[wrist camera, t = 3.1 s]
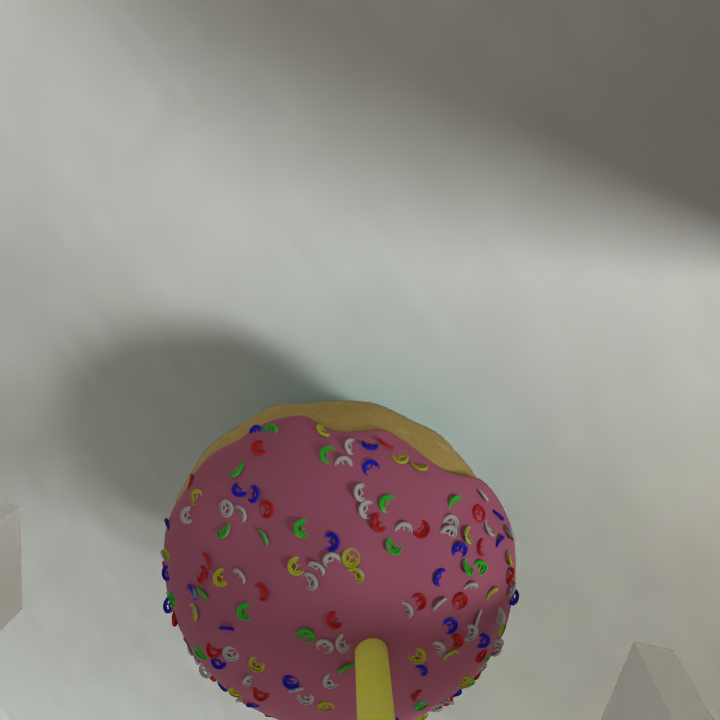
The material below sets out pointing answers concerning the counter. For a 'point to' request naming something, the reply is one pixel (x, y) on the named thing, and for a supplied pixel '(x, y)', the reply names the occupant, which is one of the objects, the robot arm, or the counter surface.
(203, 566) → the cupcake
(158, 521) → the counter surface
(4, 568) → the robot arm
